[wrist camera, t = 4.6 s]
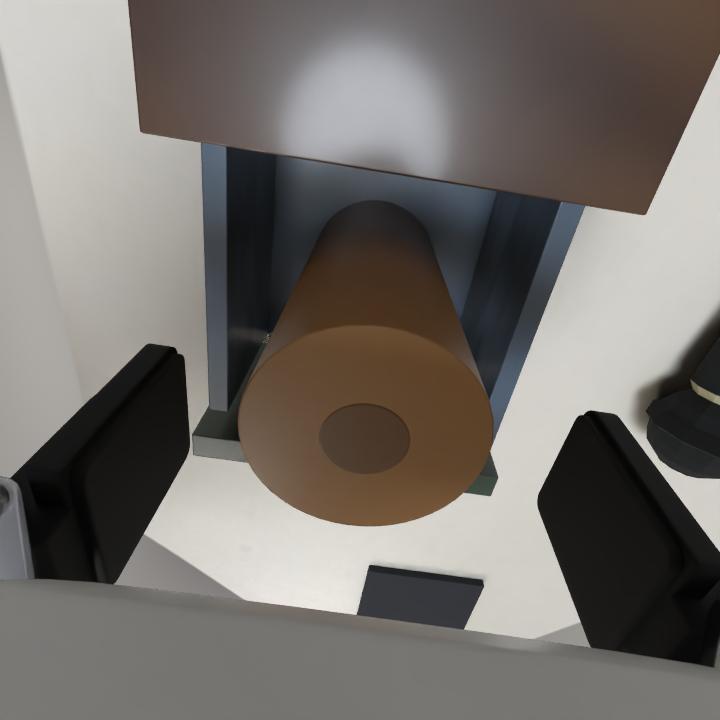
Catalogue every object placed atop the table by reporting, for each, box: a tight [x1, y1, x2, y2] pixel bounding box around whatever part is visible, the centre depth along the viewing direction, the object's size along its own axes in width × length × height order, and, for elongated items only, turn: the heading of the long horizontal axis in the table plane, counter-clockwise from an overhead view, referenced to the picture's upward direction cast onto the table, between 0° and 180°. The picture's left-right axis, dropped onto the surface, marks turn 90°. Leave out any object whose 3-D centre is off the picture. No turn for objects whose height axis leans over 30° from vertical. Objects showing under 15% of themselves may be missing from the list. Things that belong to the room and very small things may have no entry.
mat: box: [357, 566, 484, 630], centre depth 40 cm, size 10×10×1 cm
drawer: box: [192, 143, 585, 496], centre depth 20 cm, size 21×13×9 cm, turn 172°
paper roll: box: [238, 200, 494, 526], centre depth 16 cm, size 6×6×14 cm
